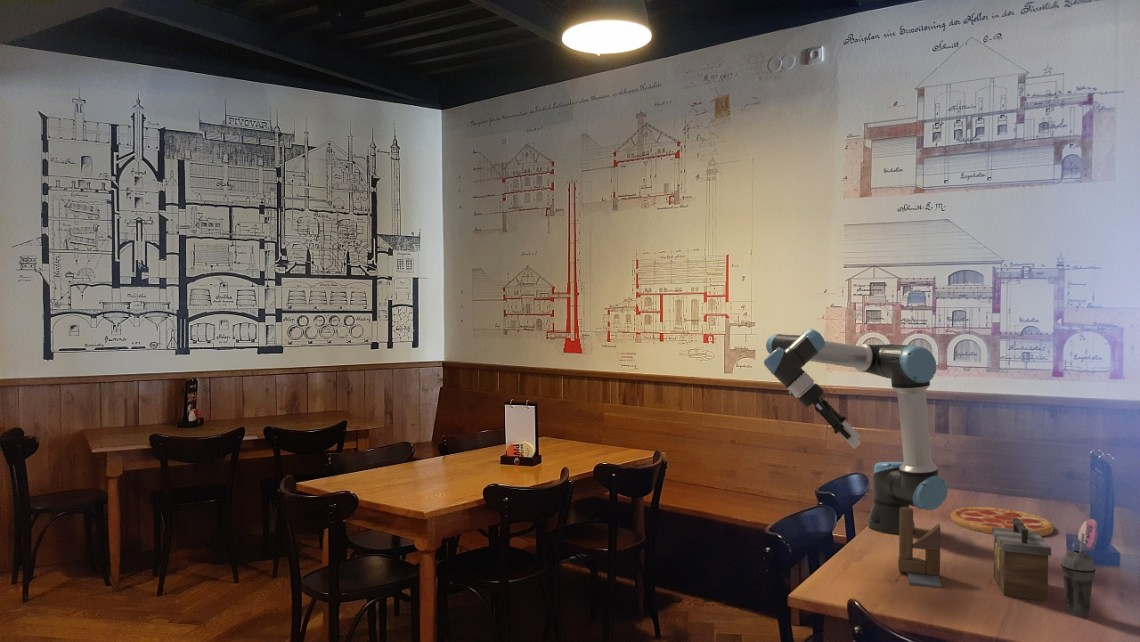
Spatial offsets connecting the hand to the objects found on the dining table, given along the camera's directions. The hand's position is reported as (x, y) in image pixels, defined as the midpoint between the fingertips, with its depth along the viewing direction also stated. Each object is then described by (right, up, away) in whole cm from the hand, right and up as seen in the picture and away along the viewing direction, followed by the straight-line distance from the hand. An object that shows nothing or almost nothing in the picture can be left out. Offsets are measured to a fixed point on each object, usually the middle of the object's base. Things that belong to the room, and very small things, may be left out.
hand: (857, 442), depth 232 cm
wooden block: (+13, -36, -12) cm, 40 cm away
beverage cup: (+40, -37, -40) cm, 67 cm away
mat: (+13, -36, -14) cm, 41 cm away
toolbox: (+36, -36, -22) cm, 56 cm away
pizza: (+67, -37, +42) cm, 87 cm away
